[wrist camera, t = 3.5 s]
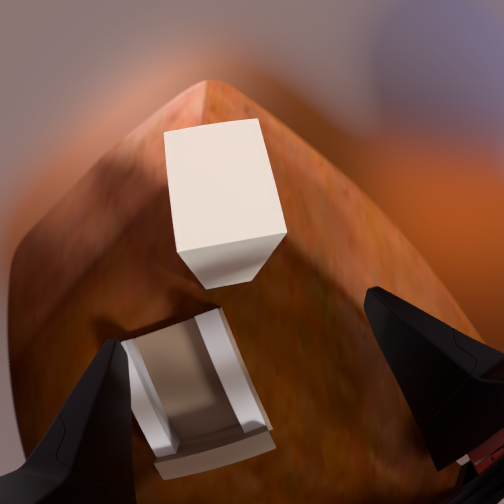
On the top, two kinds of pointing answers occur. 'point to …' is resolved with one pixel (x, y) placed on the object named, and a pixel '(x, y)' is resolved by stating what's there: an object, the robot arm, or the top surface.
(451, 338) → the robot arm
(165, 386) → the sill track
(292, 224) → the top surface
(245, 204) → the white rectangular block
